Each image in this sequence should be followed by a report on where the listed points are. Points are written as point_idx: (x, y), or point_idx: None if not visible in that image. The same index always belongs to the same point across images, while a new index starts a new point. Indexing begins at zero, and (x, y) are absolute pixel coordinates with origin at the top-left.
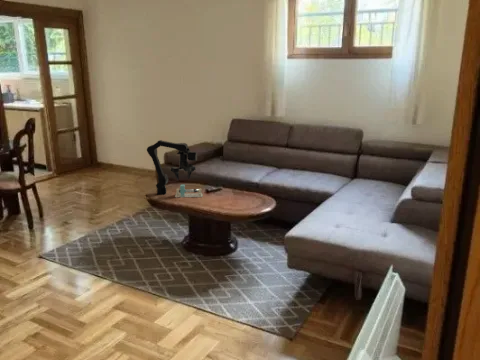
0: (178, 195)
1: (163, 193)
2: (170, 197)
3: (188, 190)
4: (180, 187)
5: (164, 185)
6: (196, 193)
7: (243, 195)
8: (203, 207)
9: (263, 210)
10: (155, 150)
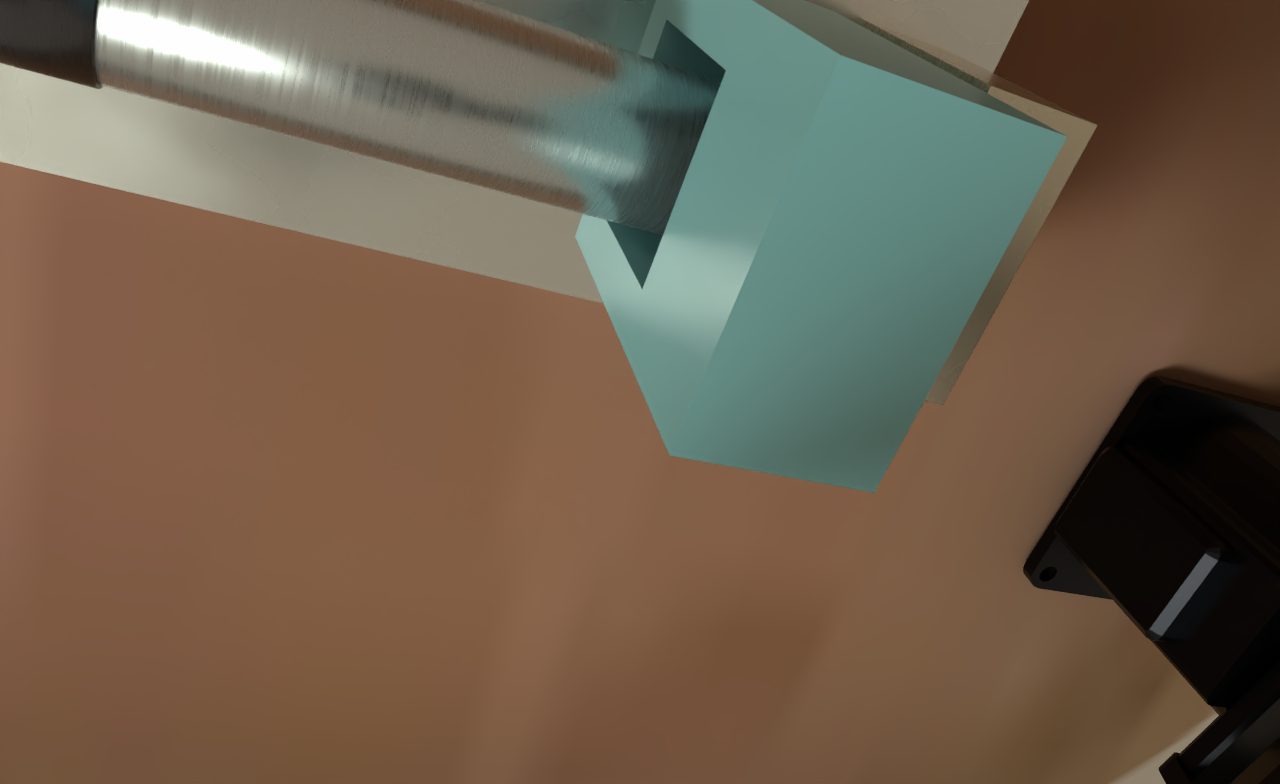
0: (895, 31)
1: (1184, 436)
2: (1137, 60)
3: (469, 17)
4: (1003, 107)
5: (1260, 691)
6: (8, 150)
7: None
8: None
9: None
10: None
